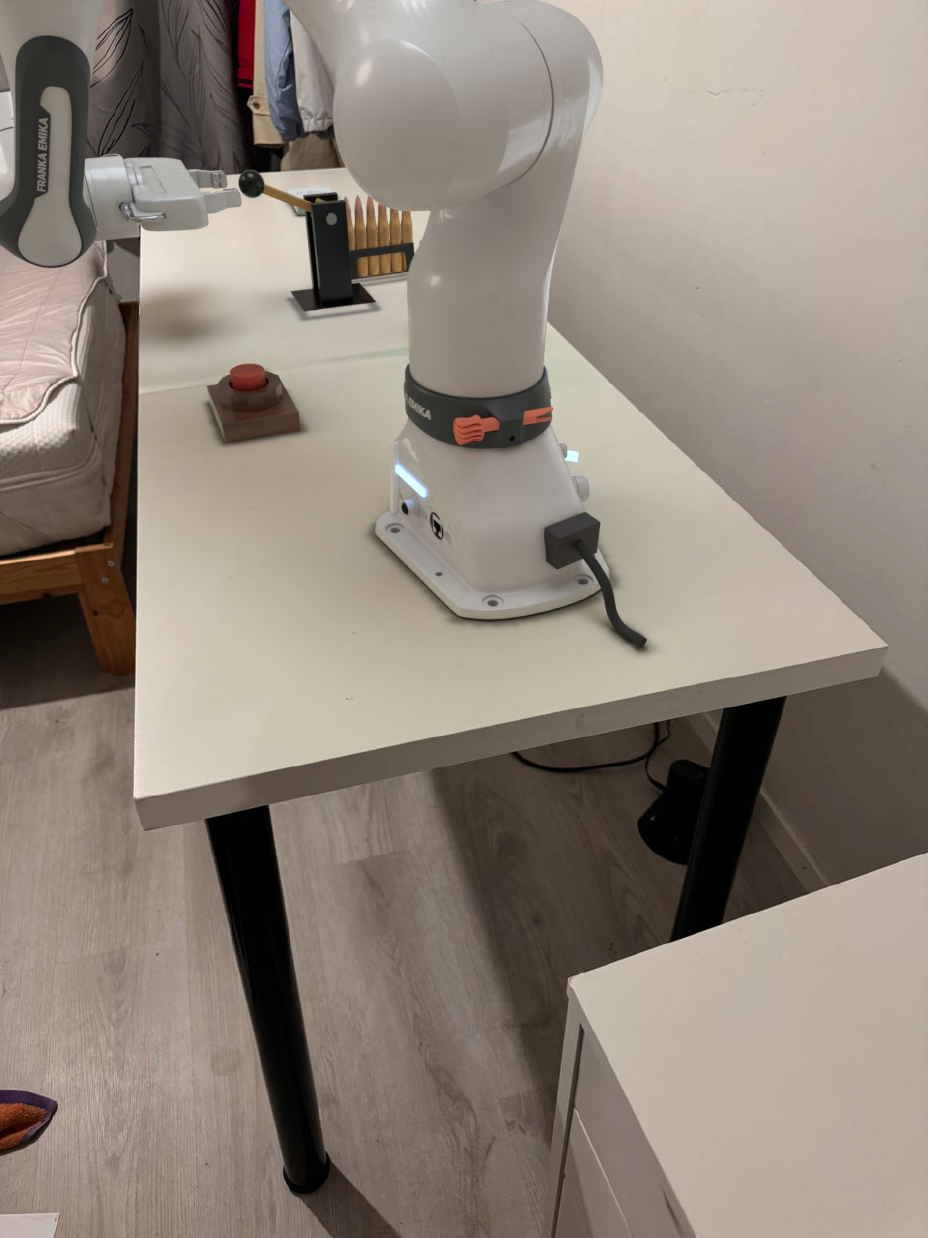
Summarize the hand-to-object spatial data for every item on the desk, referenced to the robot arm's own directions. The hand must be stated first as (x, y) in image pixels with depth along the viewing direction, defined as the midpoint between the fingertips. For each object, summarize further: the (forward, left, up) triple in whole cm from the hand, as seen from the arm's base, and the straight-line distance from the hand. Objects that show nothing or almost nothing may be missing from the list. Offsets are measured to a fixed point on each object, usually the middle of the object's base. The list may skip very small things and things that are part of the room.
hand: (232, 187), depth 111 cm
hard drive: (+50, -21, -16) cm, 57 cm away
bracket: (0, -11, -16) cm, 20 cm away
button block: (-30, +6, -16) cm, 34 cm away
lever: (0, -6, -3) cm, 7 cm away
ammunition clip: (+7, -20, -16) cm, 27 cm away
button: (-30, +6, -12) cm, 33 cm away
